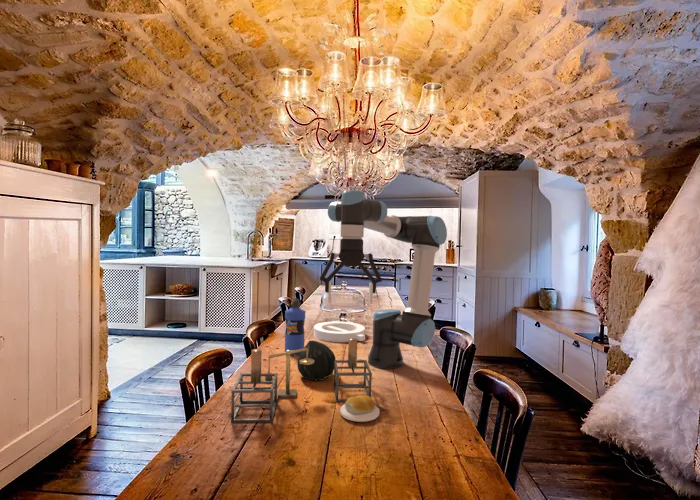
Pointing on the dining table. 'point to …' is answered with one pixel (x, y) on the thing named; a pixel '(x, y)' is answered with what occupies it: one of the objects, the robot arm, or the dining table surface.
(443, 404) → the dining table surface
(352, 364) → the metal bar cube frame
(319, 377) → the squash
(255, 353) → the wire frame cage
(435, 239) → the robot arm
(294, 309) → the water bottle
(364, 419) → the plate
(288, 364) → the balance
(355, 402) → the bread roll
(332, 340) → the ring with crossbar
